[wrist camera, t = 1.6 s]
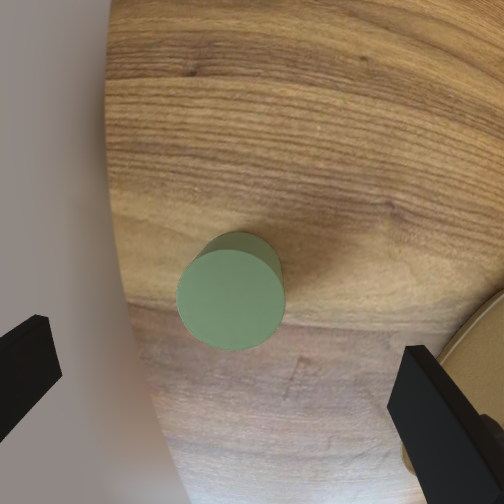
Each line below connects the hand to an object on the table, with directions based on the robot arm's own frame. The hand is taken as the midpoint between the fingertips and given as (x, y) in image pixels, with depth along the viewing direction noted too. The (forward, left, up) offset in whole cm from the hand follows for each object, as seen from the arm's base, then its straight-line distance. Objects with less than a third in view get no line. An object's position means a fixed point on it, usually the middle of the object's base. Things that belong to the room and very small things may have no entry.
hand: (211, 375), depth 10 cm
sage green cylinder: (0, 0, -11) cm, 11 cm away
